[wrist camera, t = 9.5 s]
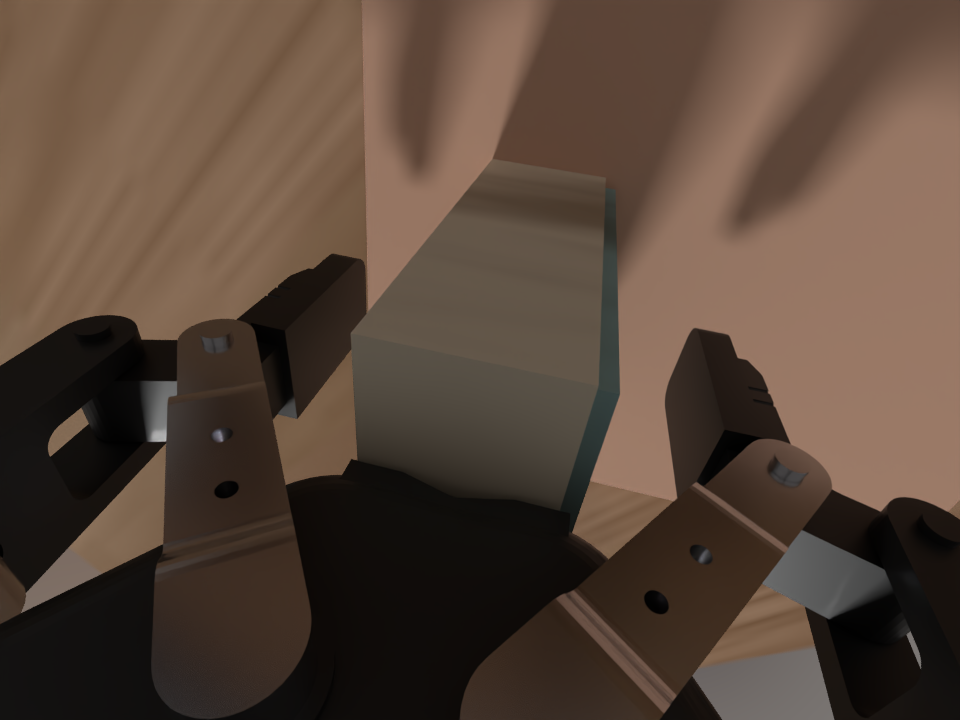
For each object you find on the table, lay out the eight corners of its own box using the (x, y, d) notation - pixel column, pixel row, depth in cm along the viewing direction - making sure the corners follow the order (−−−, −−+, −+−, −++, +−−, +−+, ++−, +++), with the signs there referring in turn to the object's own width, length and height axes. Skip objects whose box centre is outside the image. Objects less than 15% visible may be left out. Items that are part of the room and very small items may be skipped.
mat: (366, -110, 11) (359, -113, 11) (1432, 17, 9) (1463, 17, 9) (374, 422, 20) (370, 428, 20) (896, 546, 18) (901, 555, 18)
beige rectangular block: (492, 158, 13) (350, 332, 6) (617, 179, 13) (625, 391, 6) (471, 345, 17) (365, 596, 10) (569, 365, 16) (535, 643, 9)
